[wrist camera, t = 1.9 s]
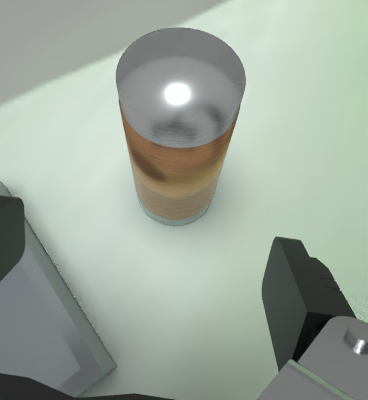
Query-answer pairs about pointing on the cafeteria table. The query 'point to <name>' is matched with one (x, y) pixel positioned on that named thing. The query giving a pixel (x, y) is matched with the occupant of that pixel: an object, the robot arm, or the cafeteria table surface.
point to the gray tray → (47, 325)
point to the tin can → (178, 118)
